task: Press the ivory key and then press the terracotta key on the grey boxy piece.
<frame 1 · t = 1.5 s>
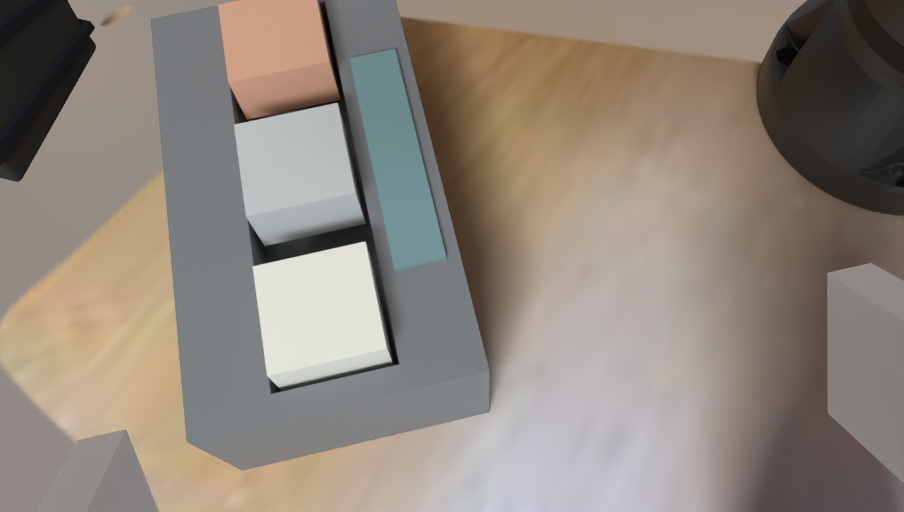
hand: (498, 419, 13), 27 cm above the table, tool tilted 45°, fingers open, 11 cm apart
terracotta key: (280, 52, 40), point 8 cm above the table, slide at 0.0 cm
grey key: (300, 175, 37), point 8 cm above the table, slide at 0.0 cm
ivory key: (325, 318, 34), point 8 cm above the table, slide at 0.0 cm
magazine: (50, 95, 50), on the table
grey boxy piece: (331, 244, 44), on the table
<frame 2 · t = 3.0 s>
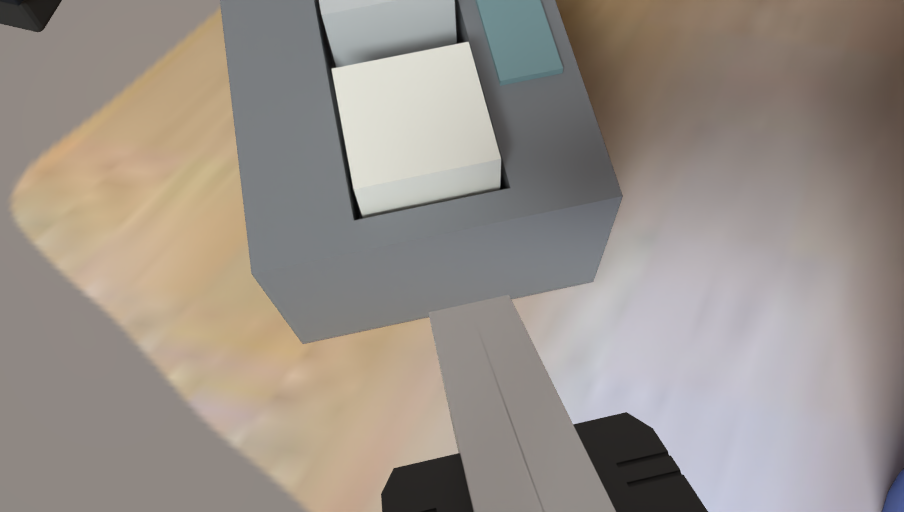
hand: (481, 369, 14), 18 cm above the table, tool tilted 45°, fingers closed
ivory key: (417, 137, 28), point 8 cm above the table, slide at 0.0 cm
grey boxy piece: (401, 99, 38), on the table
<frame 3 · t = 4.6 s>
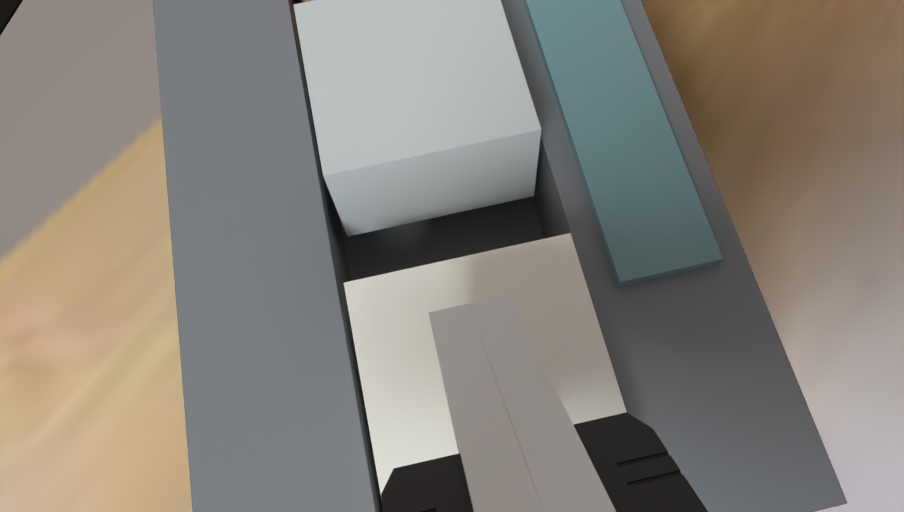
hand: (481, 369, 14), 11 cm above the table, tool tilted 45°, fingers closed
grey key: (417, 103, 20), point 8 cm above the table, slide at 0.0 cm
ivory key: (485, 387, 17), point 8 cm above the table, slide at 0.3 cm, touching gripper
grey boxy piece: (436, 235, 27), on the table
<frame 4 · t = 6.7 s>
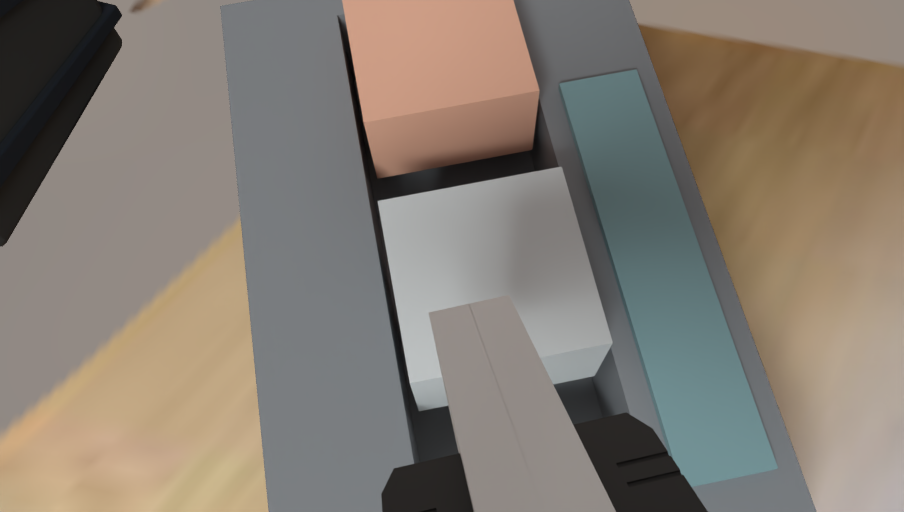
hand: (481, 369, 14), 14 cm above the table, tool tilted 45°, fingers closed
terracotta key: (438, 69, 24), point 8 cm above the table, slide at 0.0 cm
grey key: (489, 291, 21), point 8 cm above the table, slide at 0.0 cm
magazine: (53, 113, 34), on the table
grey boxy piece: (486, 367, 28), on the table
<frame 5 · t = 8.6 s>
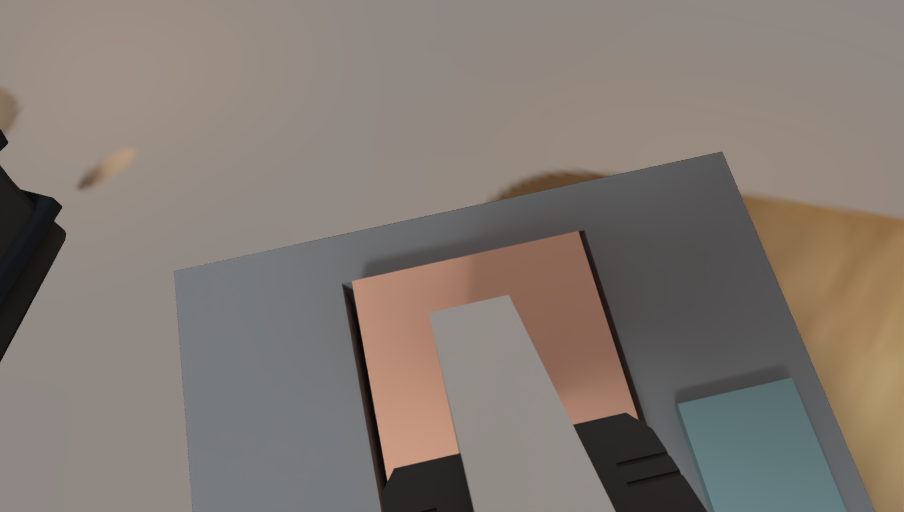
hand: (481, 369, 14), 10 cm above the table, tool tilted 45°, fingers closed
terracotta key: (493, 385, 17), point 7 cm above the table, slide at 0.9 cm, touching gripper
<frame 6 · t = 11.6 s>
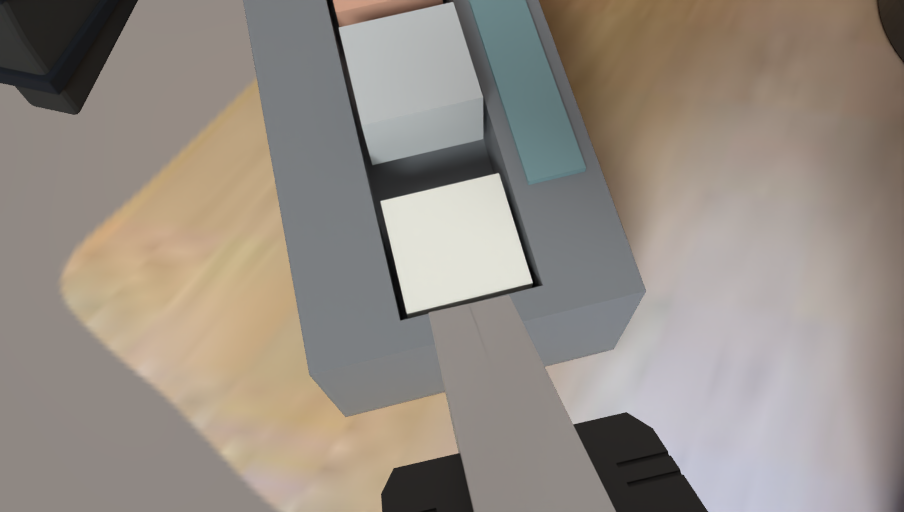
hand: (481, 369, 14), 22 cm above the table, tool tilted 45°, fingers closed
grey key: (412, 84, 33), point 8 cm above the table, slide at 0.0 cm
ivory key: (455, 256, 32), point 6 cm above the table, slide at 1.9 cm, touching grey boxy piece
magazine: (105, 23, 46), on the table
grey boxy piece: (425, 174, 41), on the table
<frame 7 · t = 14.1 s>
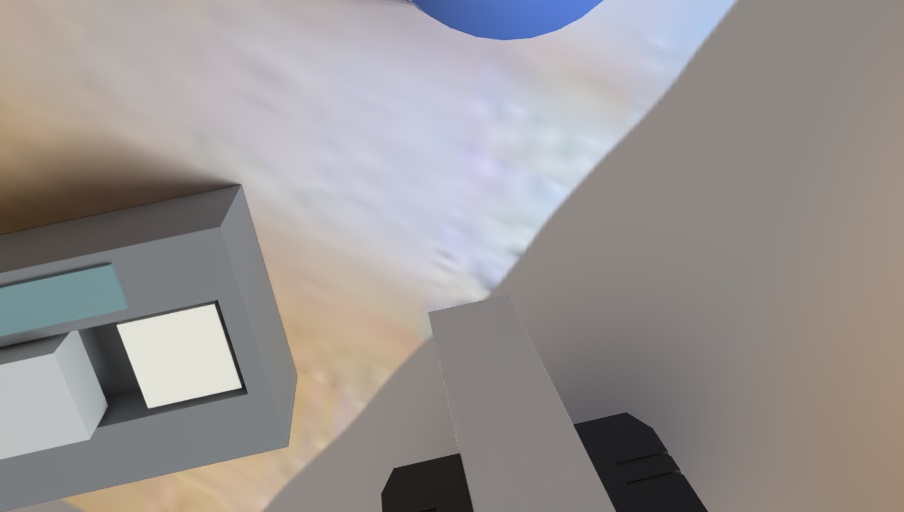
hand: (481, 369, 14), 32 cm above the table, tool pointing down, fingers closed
grey key: (33, 392, 39), point 8 cm above the table, slide at 0.0 cm
ivory key: (186, 343, 42), point 6 cm above the table, slide at 1.9 cm, touching grey boxy piece
grey boxy piece: (83, 325, 47), on the table
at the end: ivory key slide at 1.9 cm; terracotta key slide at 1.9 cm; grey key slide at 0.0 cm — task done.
